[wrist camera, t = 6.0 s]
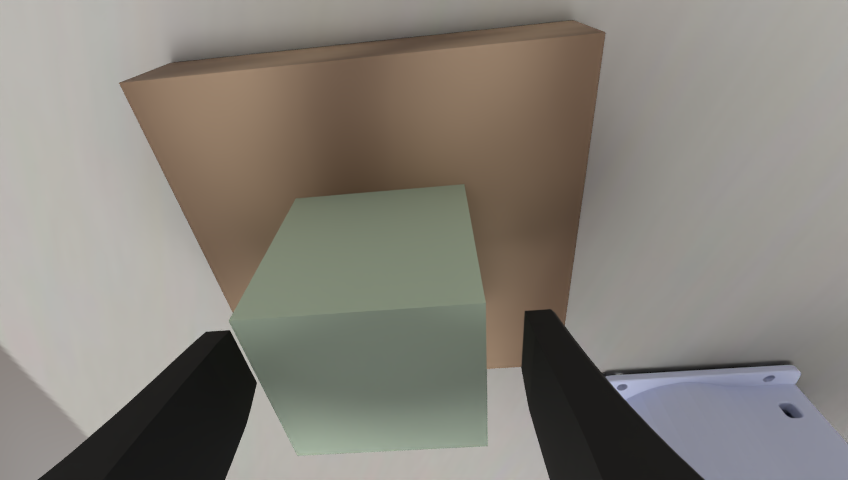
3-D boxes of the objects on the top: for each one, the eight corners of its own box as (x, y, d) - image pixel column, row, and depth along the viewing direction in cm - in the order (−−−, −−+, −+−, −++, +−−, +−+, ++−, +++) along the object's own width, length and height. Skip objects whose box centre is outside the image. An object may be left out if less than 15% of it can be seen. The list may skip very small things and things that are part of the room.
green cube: (464, 184, 12) (485, 303, 8) (469, 309, 15) (487, 446, 10) (295, 198, 12) (228, 321, 8) (332, 319, 15) (297, 455, 11)
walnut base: (573, 20, 12) (605, 32, 10) (543, 319, 18) (559, 364, 16) (170, 62, 12) (119, 82, 10) (284, 336, 19) (267, 382, 17)
